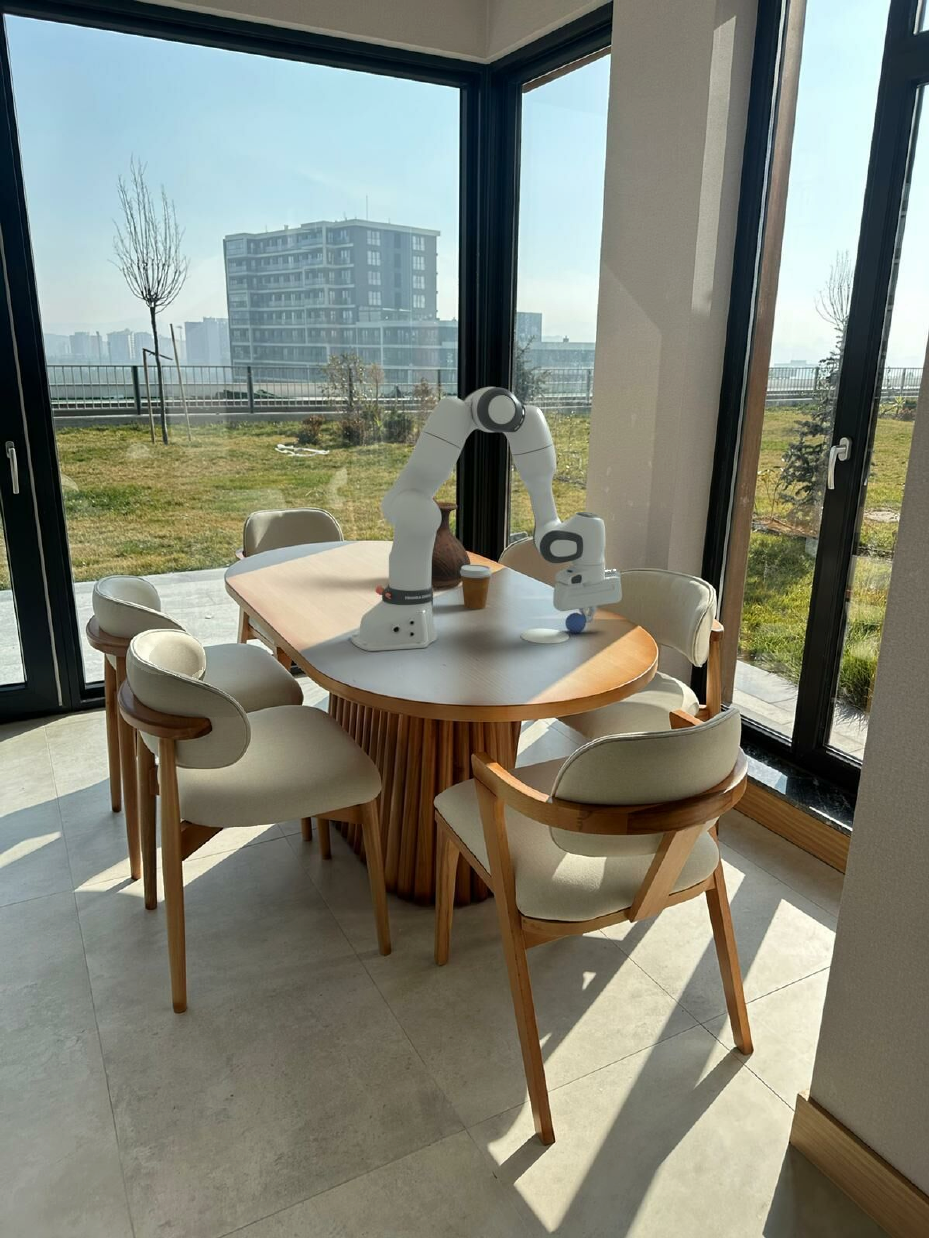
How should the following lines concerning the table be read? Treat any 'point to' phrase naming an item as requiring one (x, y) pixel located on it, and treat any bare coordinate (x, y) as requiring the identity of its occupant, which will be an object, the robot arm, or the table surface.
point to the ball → (575, 622)
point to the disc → (544, 636)
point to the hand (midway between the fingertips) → (587, 621)
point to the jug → (447, 552)
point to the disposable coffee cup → (475, 585)
